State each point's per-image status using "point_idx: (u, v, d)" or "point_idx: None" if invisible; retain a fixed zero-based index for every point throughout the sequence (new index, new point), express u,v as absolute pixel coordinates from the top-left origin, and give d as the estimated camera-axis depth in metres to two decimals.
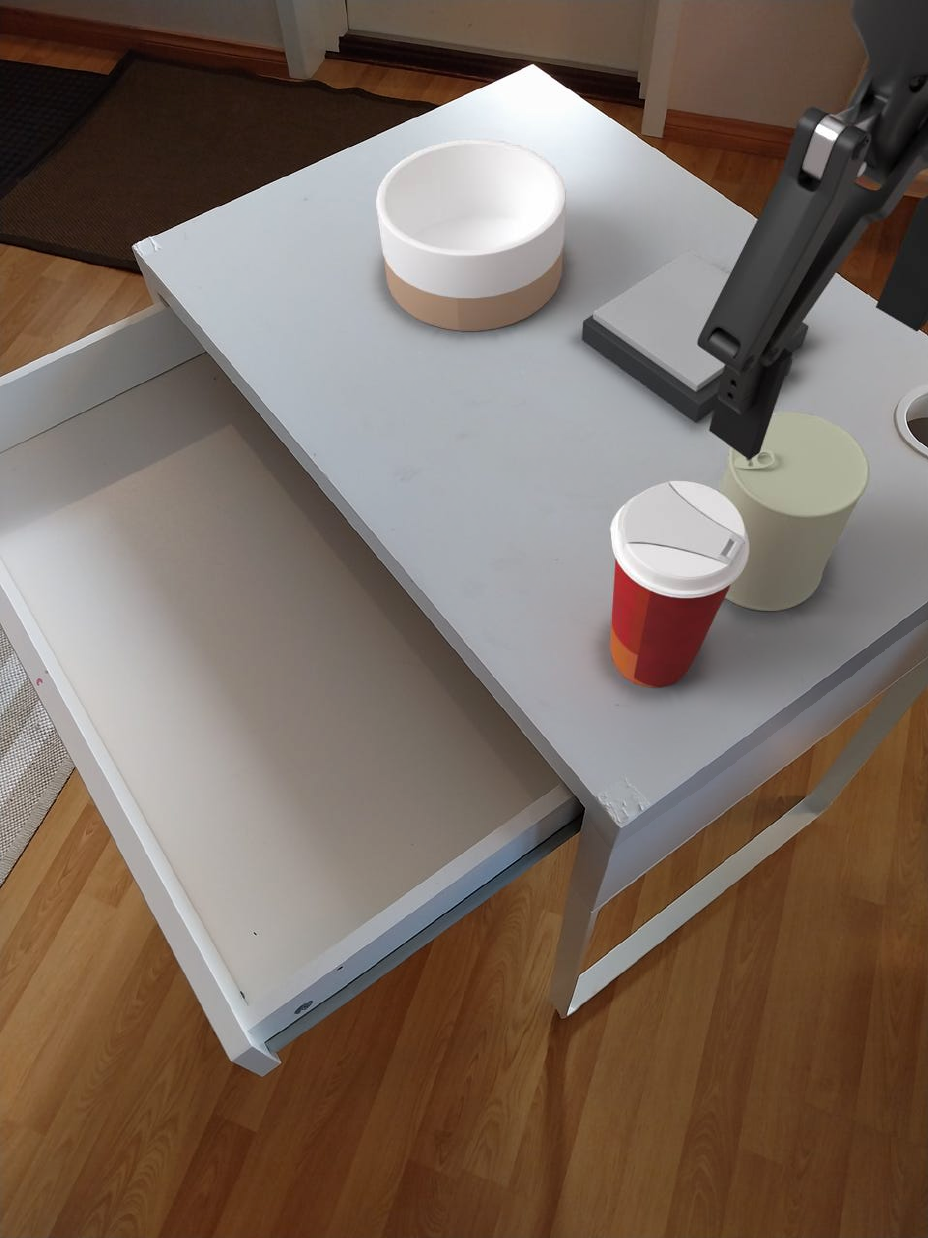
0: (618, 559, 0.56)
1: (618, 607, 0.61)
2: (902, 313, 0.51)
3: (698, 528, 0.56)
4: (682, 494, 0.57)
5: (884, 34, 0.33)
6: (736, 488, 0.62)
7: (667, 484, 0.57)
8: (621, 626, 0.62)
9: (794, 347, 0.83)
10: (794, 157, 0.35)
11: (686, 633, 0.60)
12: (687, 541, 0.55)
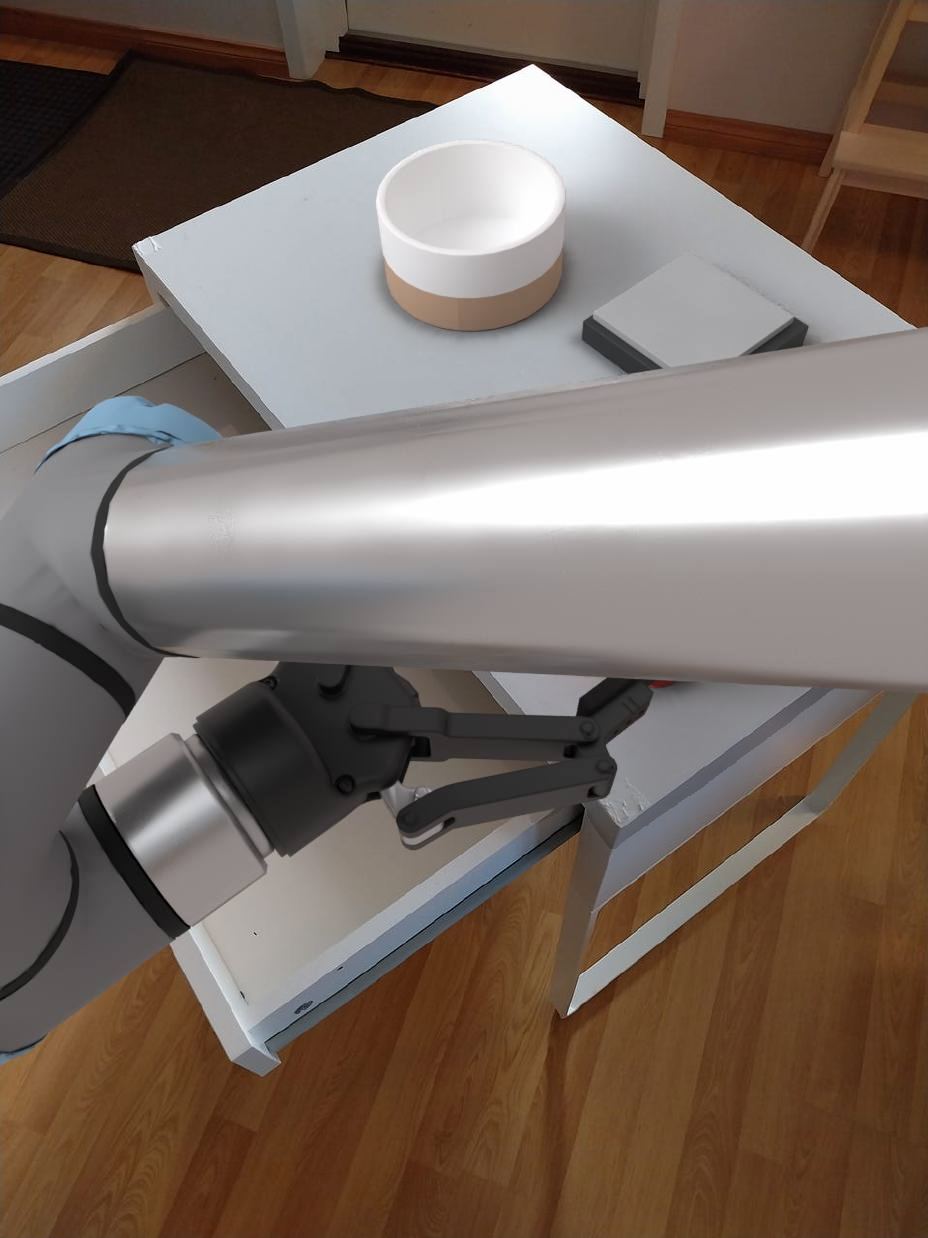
0: None
1: None
2: None
3: None
4: None
5: (335, 822, 0.41)
6: None
7: None
8: None
9: (794, 347, 0.83)
10: (439, 835, 0.41)
11: None
12: None
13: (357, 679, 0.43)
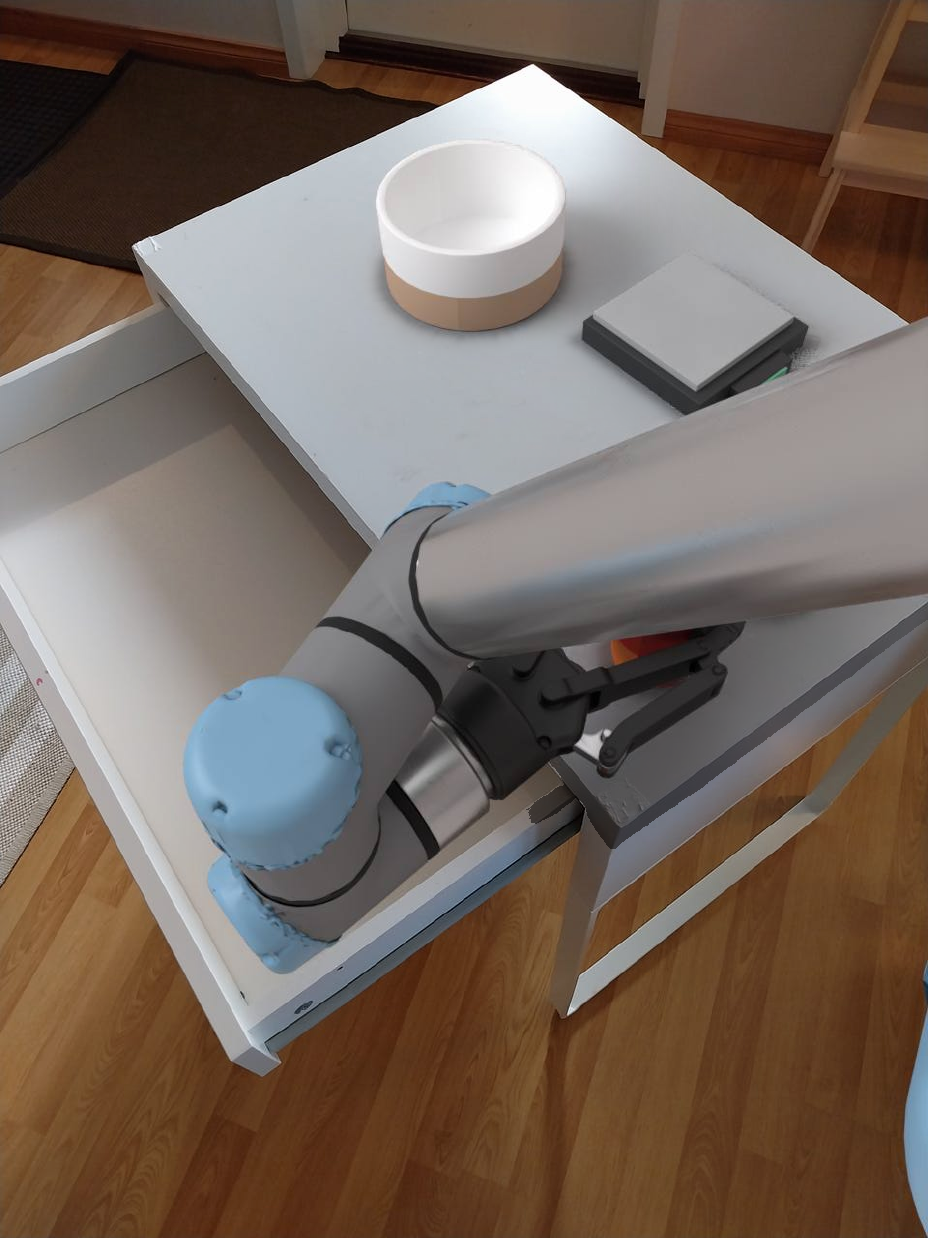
0: None
1: None
2: None
3: None
4: None
5: (535, 772, 0.55)
6: None
7: None
8: None
9: (794, 347, 0.83)
10: (624, 760, 0.56)
11: (687, 633, 0.60)
12: None
13: (541, 665, 0.57)
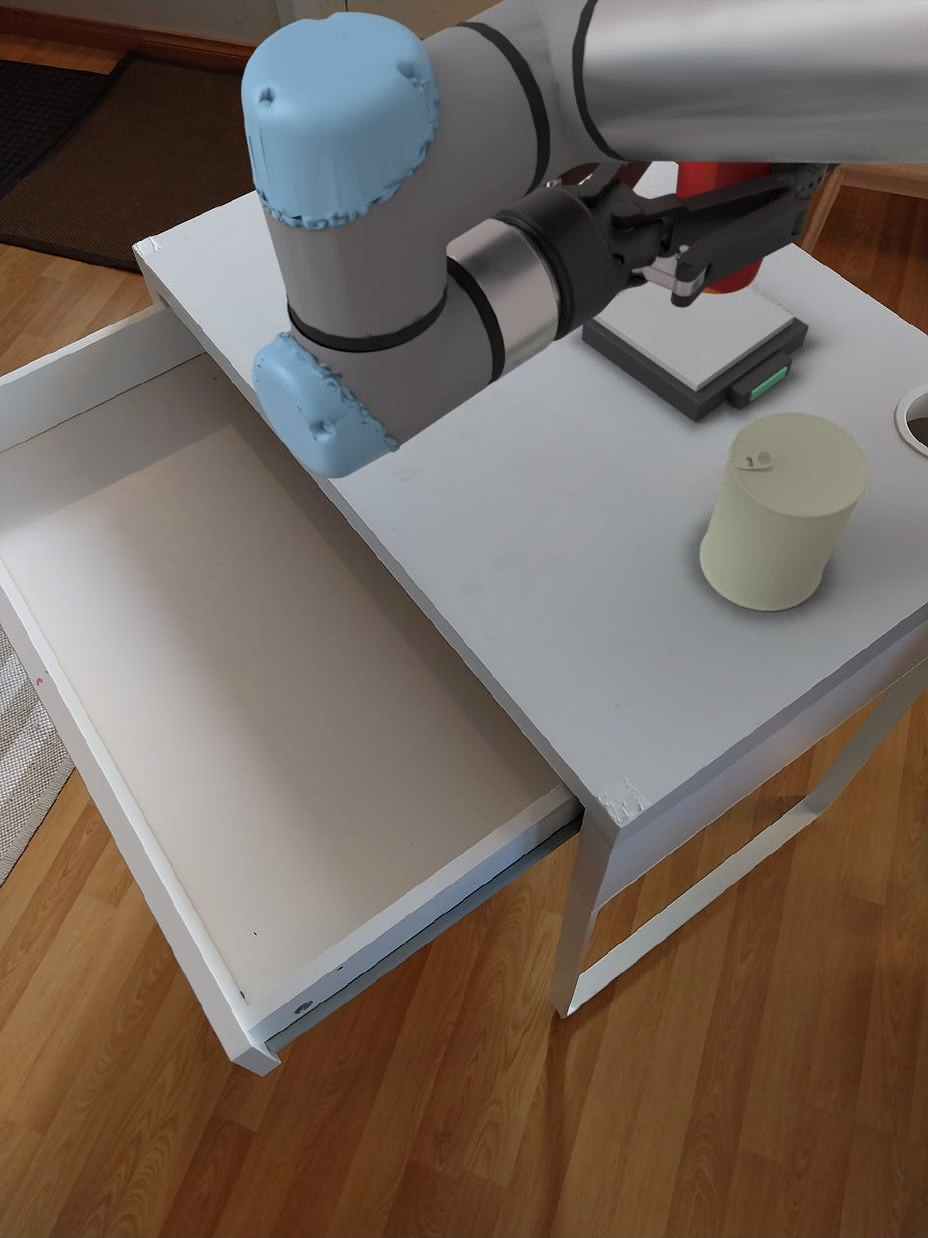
0: None
1: (686, 167, 0.56)
2: None
3: None
4: None
5: (605, 298, 0.51)
6: (736, 488, 0.62)
7: None
8: None
9: (794, 347, 0.83)
10: (701, 289, 0.51)
11: None
12: None
13: (608, 199, 0.53)
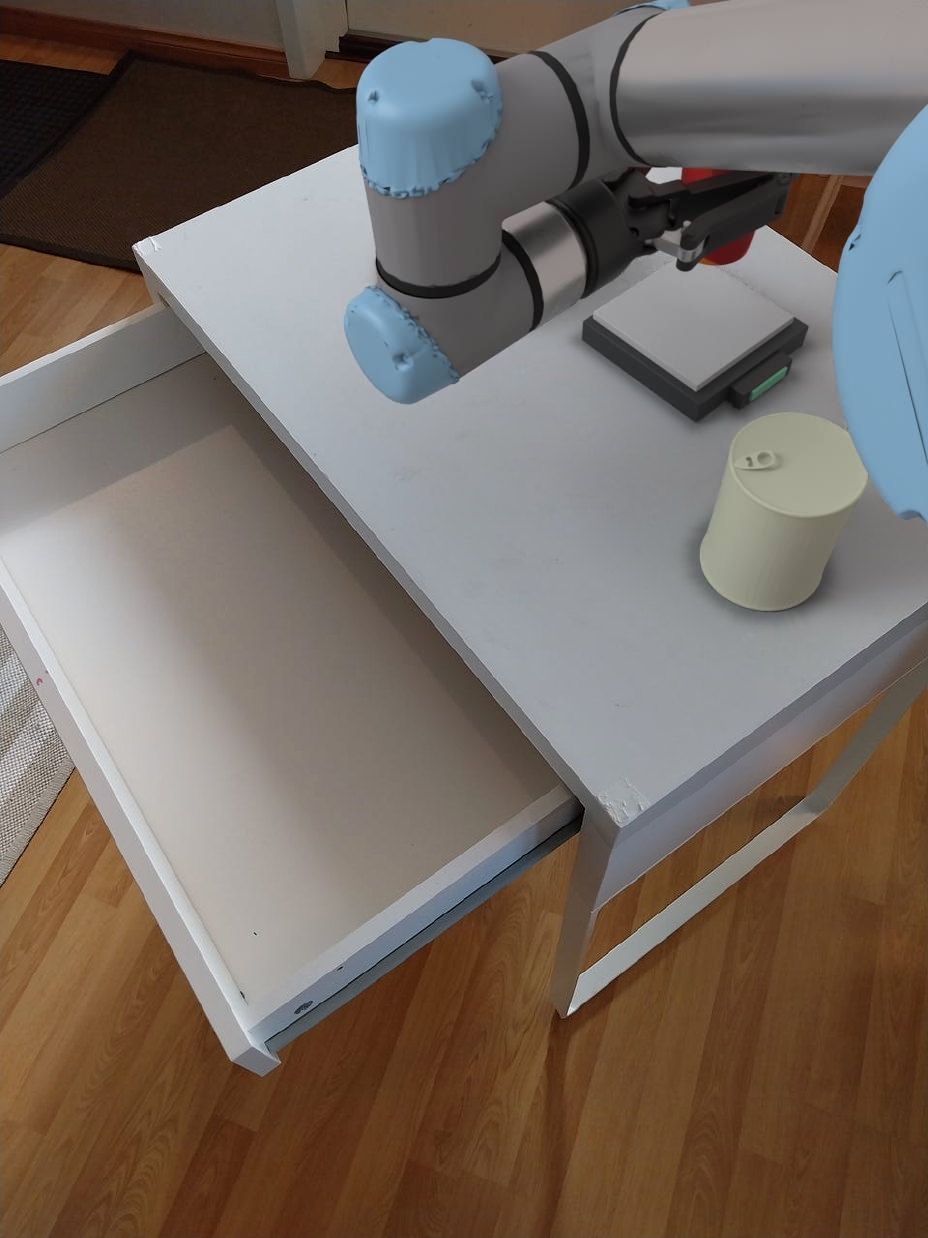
0: None
1: None
2: None
3: None
4: None
5: (623, 264, 0.63)
6: (736, 488, 0.62)
7: None
8: None
9: (794, 347, 0.83)
10: (700, 257, 0.64)
11: None
12: None
13: (625, 184, 0.65)
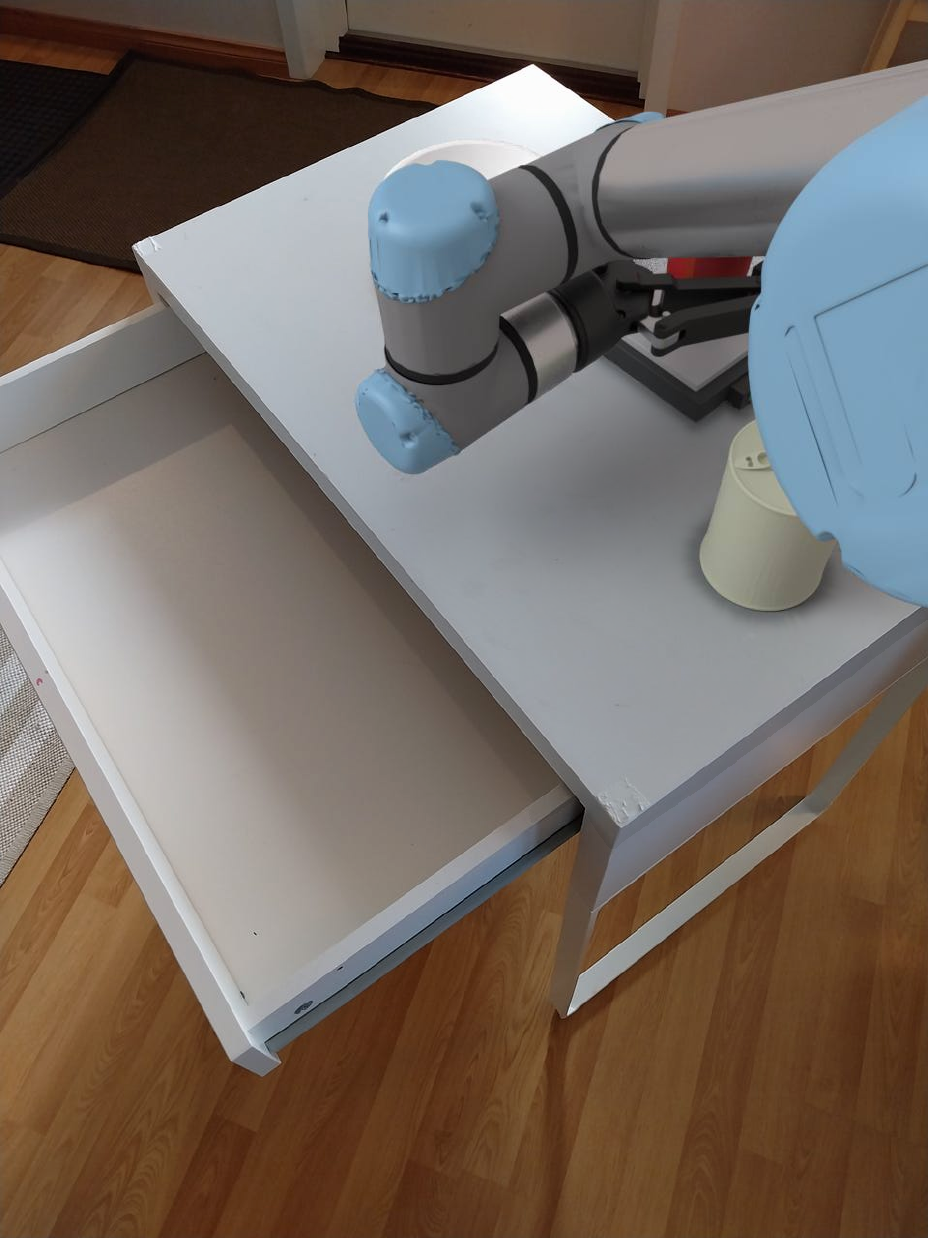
0: None
1: None
2: None
3: None
4: None
5: (611, 342, 0.69)
6: (736, 488, 0.62)
7: None
8: (676, 268, 0.76)
9: None
10: (675, 346, 0.68)
11: (731, 260, 0.74)
12: None
13: (614, 267, 0.70)
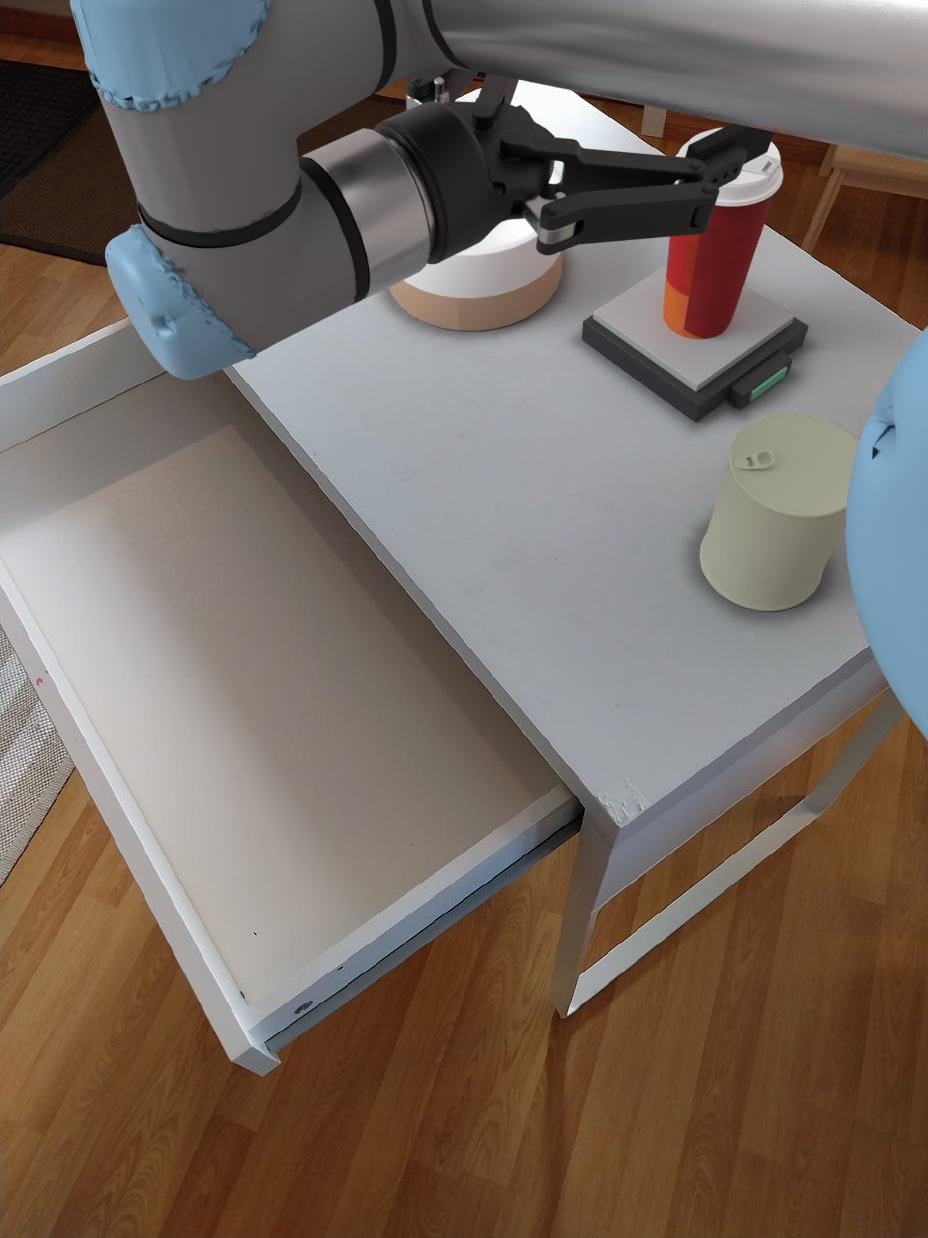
0: None
1: (674, 246, 0.75)
2: None
3: None
4: None
5: (484, 227, 0.50)
6: (736, 488, 0.62)
7: (717, 130, 0.71)
8: (676, 268, 0.76)
9: (794, 347, 0.83)
10: (568, 243, 0.50)
11: (731, 260, 0.74)
12: None
13: (503, 123, 0.52)
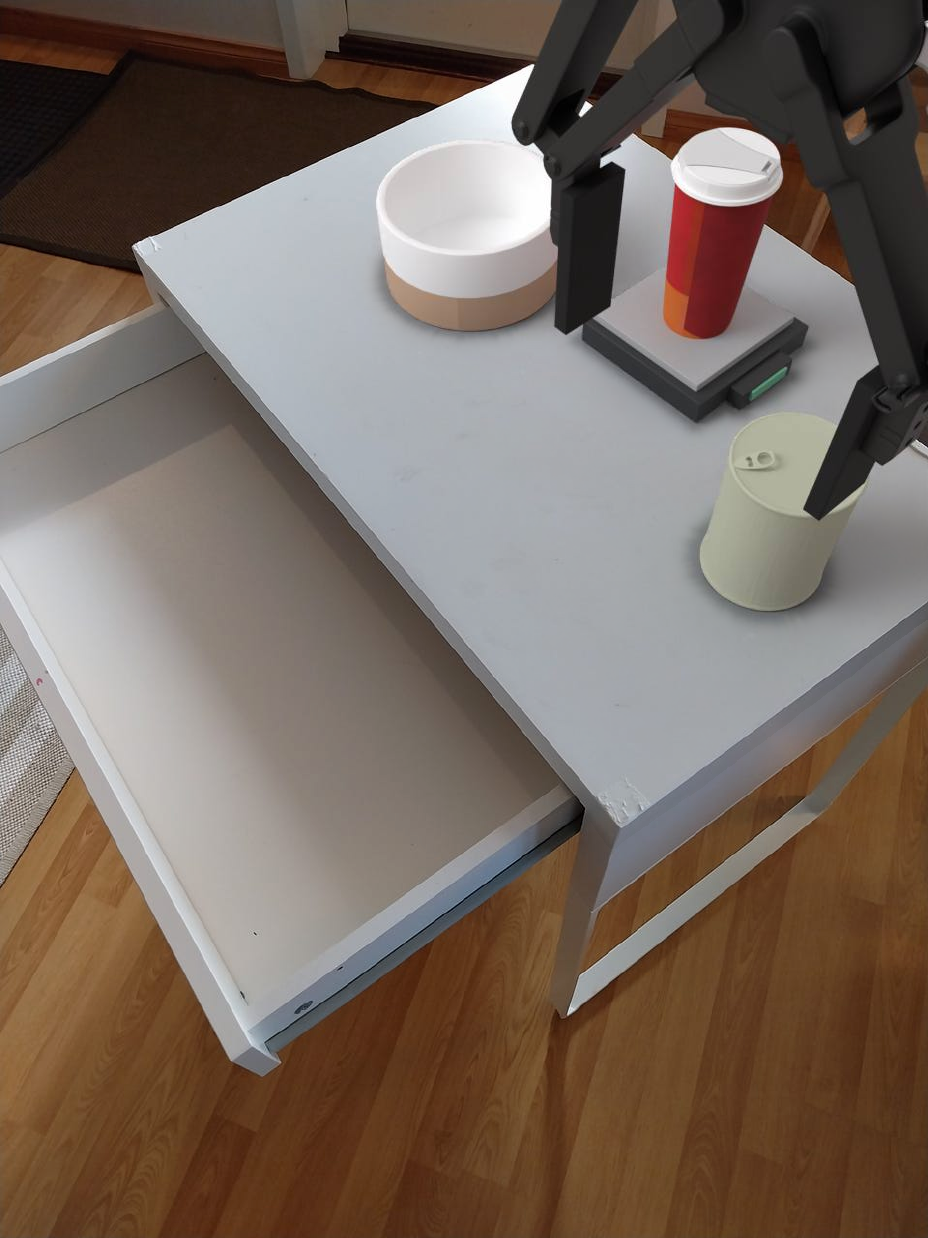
0: (678, 183, 0.70)
1: (674, 246, 0.75)
2: None
3: (743, 155, 0.70)
4: (729, 135, 0.71)
5: None
6: (736, 488, 0.62)
7: (716, 130, 0.71)
8: (676, 268, 0.76)
9: (794, 347, 0.83)
10: None
11: (731, 260, 0.74)
12: (734, 163, 0.69)
13: None
